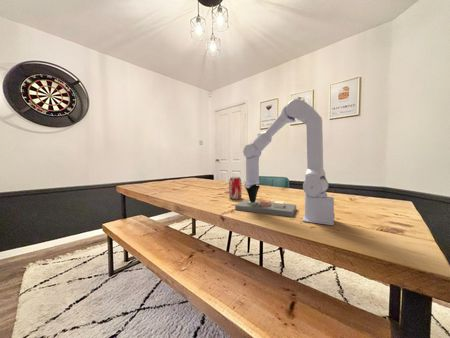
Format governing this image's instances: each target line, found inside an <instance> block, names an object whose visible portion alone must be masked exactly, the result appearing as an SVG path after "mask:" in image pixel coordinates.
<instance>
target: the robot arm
mask: <svg viewBox="0 0 450 338" xmlns="http://www.w3.org/2000/svg"><path fill="white" fill-rule="evenodd" d="M296 120H297V121H300V122H302V123H303V124H304V125H305V127H306V159H307V161H306V164H307V165H306V168H307V169H306V172H305V176H304V177H305V179H304V181H303V184H302V189H303V191H304V214H303V217H302V222H306V223H313V224H320V225H328V226H334V223H335V222H334V221H335V220H334V219H335V211H334V210H335V200H334V199H335V197H333V196H328V194H327V192H326V191H327V190H328V188H329V182H328V180H327V177H326V171H325V169H324V145H323V144H324V142H323V134H324V133H323V117H322V116H321V115H320V114H319V113H318V111H316V109H315V108H314V107H313V106H312V105H310V104H309V103H308V102H306V101H305V100H302V99H300V98H293V99H291V100H290V101H289V102H288V103H287V104H286V105H284V107H283V108H282V110H281V111H280V113H279V114H278V116H277V117H276V118H275V119H274V120H273V122H272V123H271V124H270V125H269V126H268V128H267V129H266V131H261V132H259V133H257V137H255V139H253V140H252V141H251V142H250V144H245V146H244V148H243V151H242V153H243V157H245V174H246V175H245V180H244V181H243V183H244V188H245V191H246V192H247V195H248V198H249V199H248V200H250V202H255V201H257V199H256V198H257V195H258V191H259V189H260V187H261V186H260V185H259V184H260V178H259V177H260V173H259V172H260V169H259V168H260V167H259V166H260V165H259V163H260V162H259V161H260V157H261V155H262V152H263V151H264V149H266V147H268V145H269V144H270V143H271V142H272V139H273V137H274V136H275V134H277V133H278V132H279V130H281V129H282V128H283V127H284V126H285V125H286V124H290V123H296Z"/></svg>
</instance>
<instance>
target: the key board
mask: <svg viewBox="0 0 450 338" xmlns="http://www.w3.org/2000/svg"><path fill="white" fill-rule="evenodd" d="M249 201H250V199H244V200H242V201H241V202H238V203H237V204H235V205H234V210H235V211H243V212H249V213H256V214H257V213H259V214H265V215H273V216H282V217H290V218H293V216H294V215H295V212H296V210H297V204H292V203H285V207H284V208H276V207H274V203H275V202H271V206H269V207H267V206H260V201H261V200H257V201H258V204H257V205H249V204H247V202H249Z"/></svg>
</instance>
